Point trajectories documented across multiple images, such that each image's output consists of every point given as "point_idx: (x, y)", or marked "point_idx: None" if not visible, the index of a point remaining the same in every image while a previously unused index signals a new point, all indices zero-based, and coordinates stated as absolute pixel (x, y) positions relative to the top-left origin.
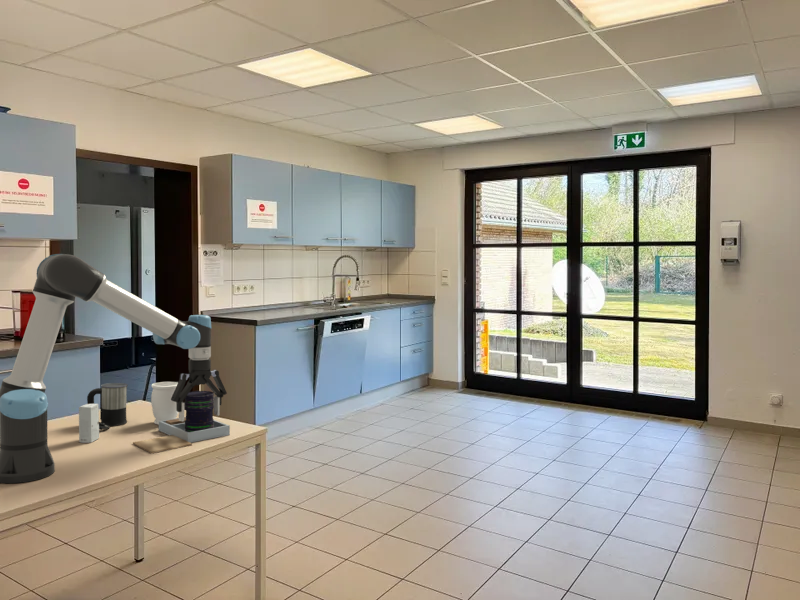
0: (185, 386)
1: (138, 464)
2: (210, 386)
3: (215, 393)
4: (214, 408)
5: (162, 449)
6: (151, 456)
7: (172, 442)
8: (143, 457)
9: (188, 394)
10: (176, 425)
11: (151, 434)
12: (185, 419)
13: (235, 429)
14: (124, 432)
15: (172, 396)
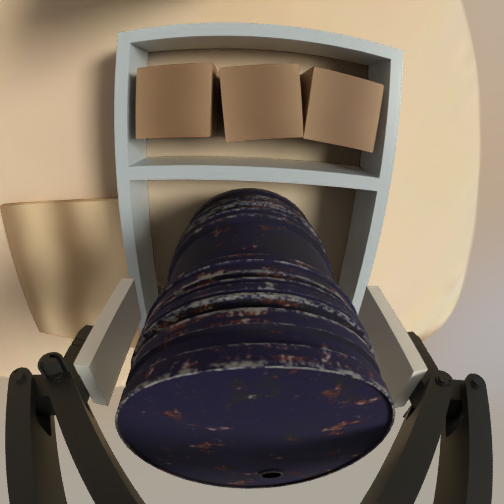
0: (92, 498)
1: (24, 364)
2: (366, 497)
3: (414, 410)
4: (377, 316)
5: (65, 336)
6: (43, 346)
7: (101, 301)
8: (28, 338)
9: (148, 421)
10: (156, 178)
11: (82, 98)
12: (249, 121)
13: (406, 276)
14: (32, 15)
15: (11, 399)
